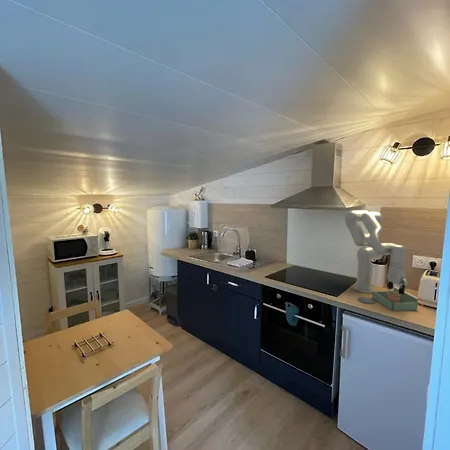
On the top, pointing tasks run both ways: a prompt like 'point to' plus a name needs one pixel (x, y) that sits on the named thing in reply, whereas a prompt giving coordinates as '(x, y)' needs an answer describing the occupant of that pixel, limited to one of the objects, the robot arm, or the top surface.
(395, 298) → the pot
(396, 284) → the mug
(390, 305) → the tray
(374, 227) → the robot arm
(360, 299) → the slate pad
